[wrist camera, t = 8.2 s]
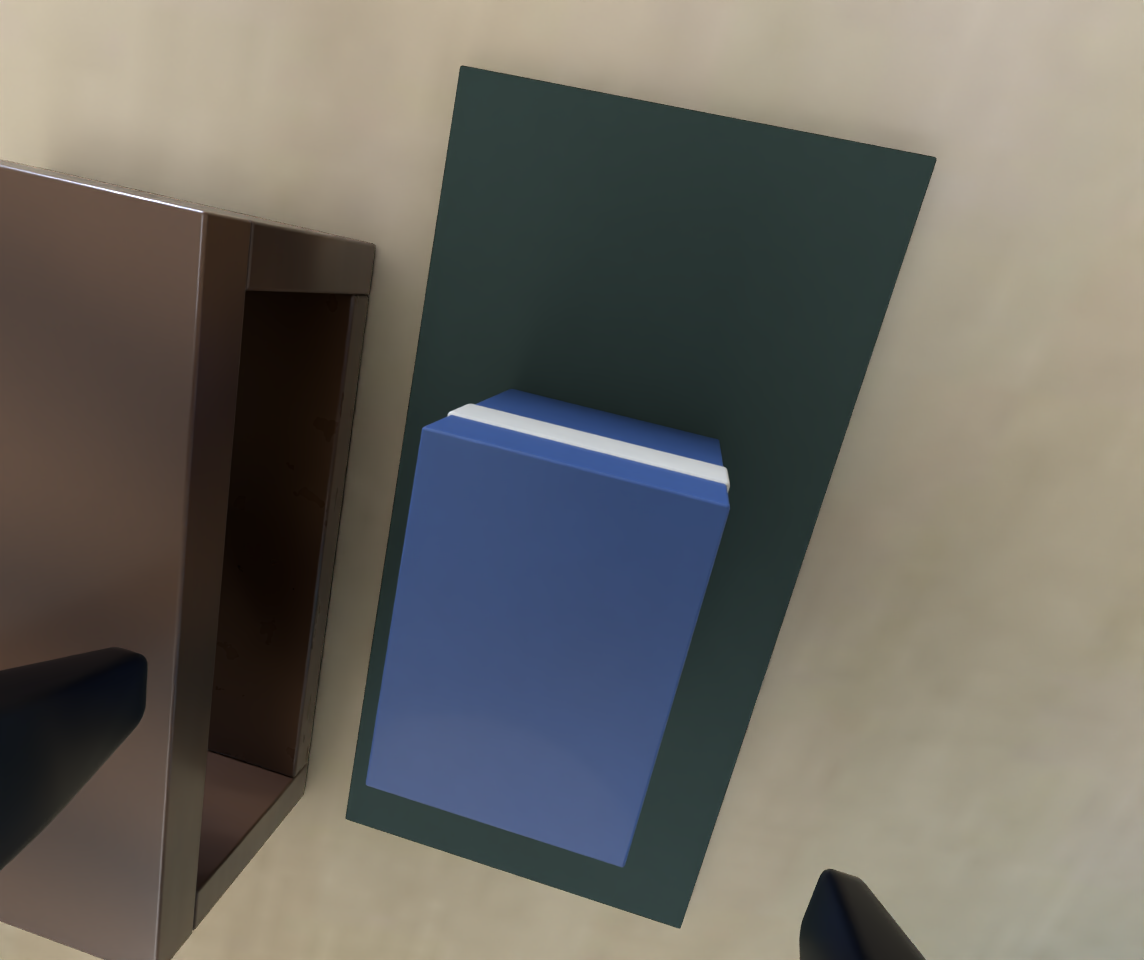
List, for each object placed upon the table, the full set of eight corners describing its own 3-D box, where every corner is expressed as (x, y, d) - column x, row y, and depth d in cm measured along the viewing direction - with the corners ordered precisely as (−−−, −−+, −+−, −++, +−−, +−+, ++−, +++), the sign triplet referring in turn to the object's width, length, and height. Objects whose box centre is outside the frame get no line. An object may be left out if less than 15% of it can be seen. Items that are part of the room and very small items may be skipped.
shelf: (305, 794, 21) (155, 980, 15) (41, 708, 22) (-193, 852, 16) (377, 244, 16) (206, 210, 11) (44, 168, 17) (-277, 100, 12)
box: (647, 704, 18) (626, 872, 12) (458, 649, 18) (361, 787, 13) (722, 438, 16) (735, 503, 10) (508, 385, 16) (419, 422, 11)
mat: (680, 917, 20) (680, 929, 19) (351, 809, 21) (344, 819, 20) (931, 160, 14) (938, 157, 14) (465, 70, 15) (459, 64, 15)
